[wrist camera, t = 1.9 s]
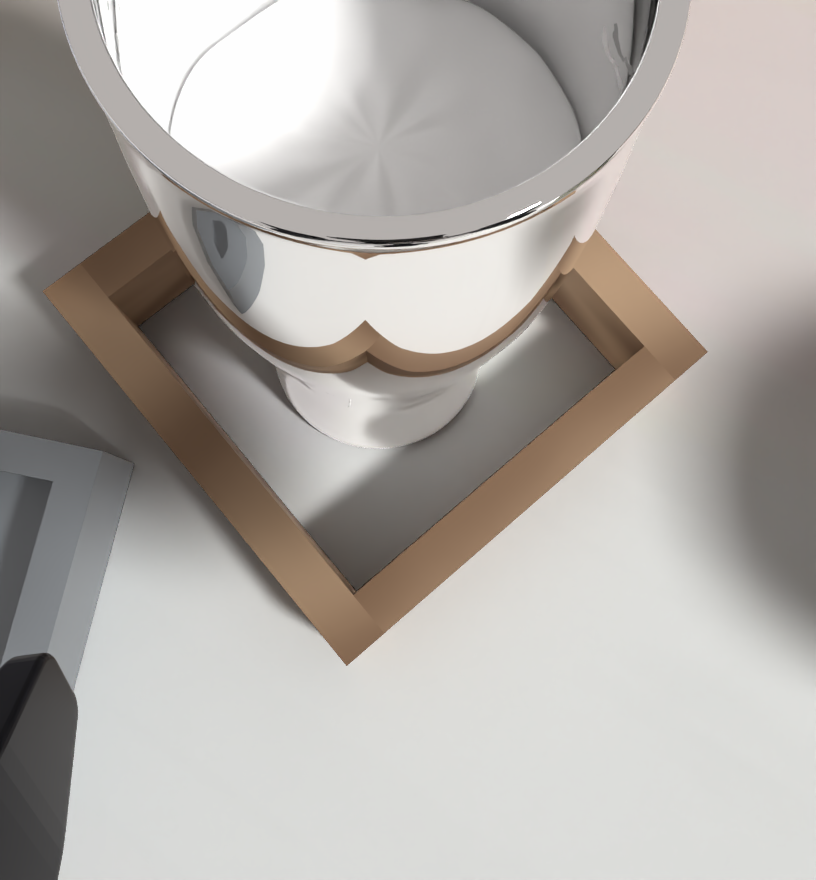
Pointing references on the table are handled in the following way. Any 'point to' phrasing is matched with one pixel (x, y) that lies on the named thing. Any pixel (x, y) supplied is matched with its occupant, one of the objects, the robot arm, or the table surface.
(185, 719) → the table surface
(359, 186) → the shiny silver hollow cylinder
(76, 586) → the coaster tray
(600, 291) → the walnut collar
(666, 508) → the table surface
